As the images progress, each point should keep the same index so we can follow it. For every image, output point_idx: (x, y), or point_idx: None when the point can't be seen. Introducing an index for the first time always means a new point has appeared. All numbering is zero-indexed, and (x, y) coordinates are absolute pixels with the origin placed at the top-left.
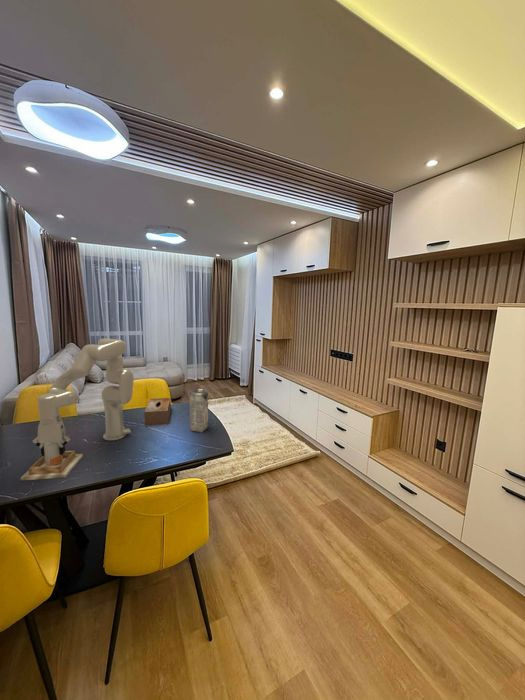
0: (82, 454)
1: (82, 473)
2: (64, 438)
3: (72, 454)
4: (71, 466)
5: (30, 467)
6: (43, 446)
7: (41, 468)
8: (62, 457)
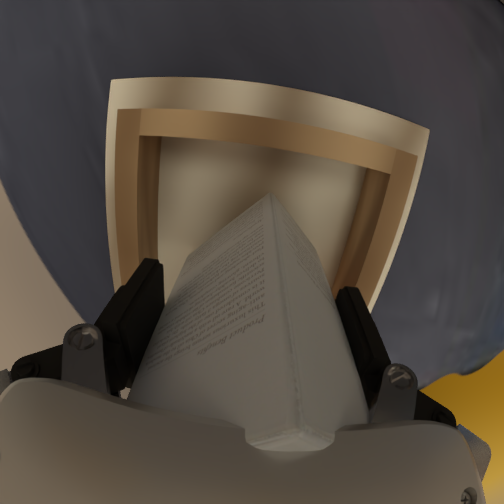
0: (426, 132)
1: (411, 333)
2: (436, 426)
3: (396, 225)
4: (373, 301)
5: None
6: (119, 383)
7: None
8: (323, 270)
